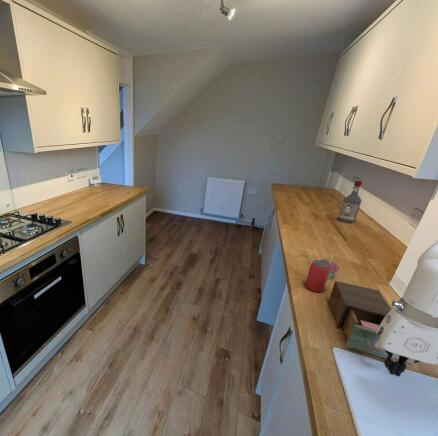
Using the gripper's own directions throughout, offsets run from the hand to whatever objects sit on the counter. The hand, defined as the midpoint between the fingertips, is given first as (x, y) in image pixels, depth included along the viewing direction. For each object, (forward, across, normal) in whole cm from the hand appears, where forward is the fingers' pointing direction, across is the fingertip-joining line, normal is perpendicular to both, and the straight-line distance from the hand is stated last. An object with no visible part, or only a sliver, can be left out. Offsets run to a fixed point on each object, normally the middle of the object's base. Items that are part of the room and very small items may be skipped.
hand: (391, 370), depth 59 cm
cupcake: (+6, -4, +55) cm, 55 cm away
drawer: (+5, 0, +15) cm, 15 cm away
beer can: (+6, -10, +41) cm, 43 cm away
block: (+4, 0, +15) cm, 16 cm away
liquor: (+6, +25, +148) cm, 150 cm away
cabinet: (+6, 0, +26) cm, 27 cm away
